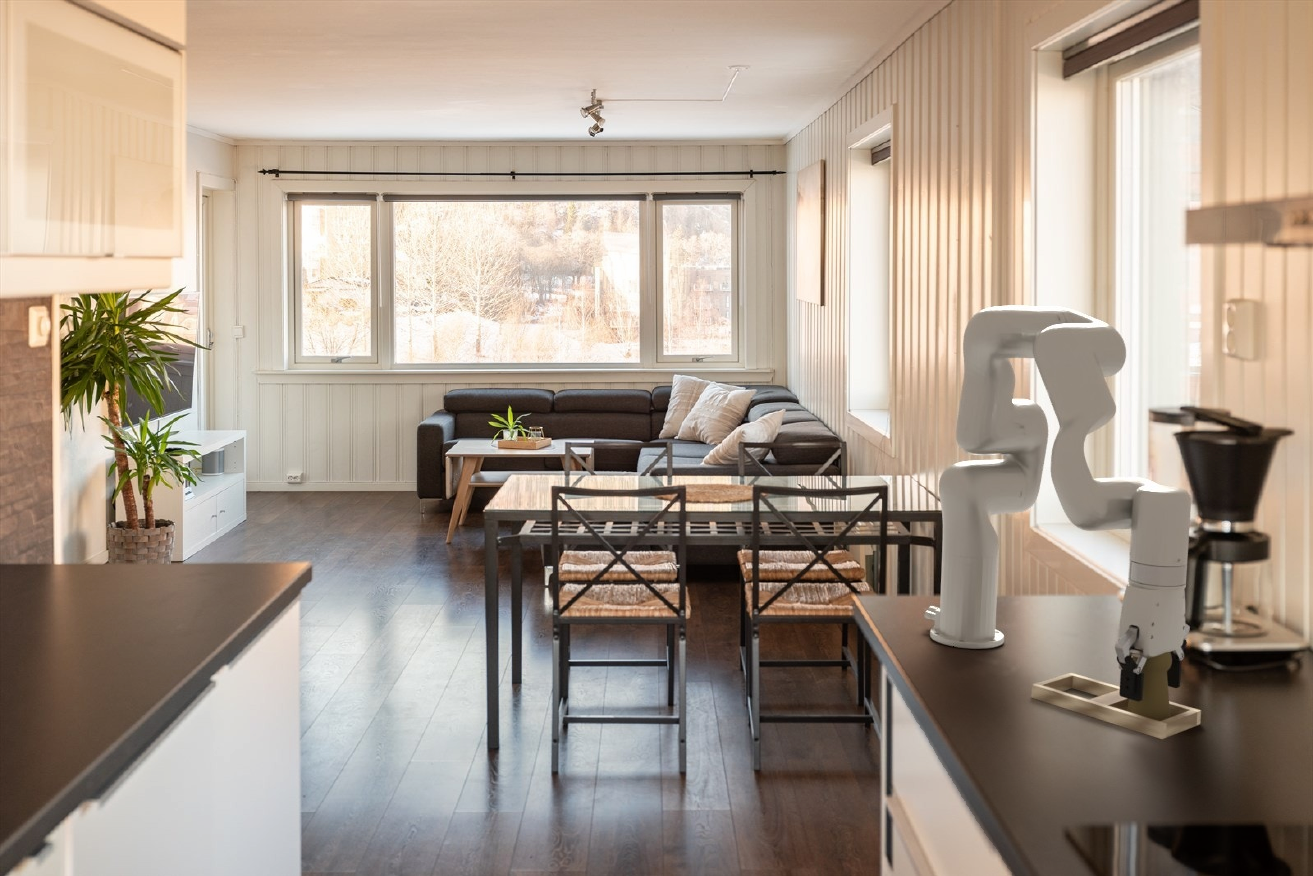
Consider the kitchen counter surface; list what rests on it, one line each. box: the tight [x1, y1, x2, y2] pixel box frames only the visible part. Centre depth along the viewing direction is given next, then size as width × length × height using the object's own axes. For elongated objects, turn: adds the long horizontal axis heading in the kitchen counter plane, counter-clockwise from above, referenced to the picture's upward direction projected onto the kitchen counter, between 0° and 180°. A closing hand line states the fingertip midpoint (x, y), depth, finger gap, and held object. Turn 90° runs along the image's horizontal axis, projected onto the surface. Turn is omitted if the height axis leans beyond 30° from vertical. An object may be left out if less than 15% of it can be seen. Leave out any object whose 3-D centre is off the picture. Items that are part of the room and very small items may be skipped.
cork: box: [1127, 648, 1172, 721], centre depth 171 cm, size 6×6×11 cm
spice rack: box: [1030, 672, 1202, 740], centre depth 175 cm, size 21×10×2 cm, turn 37°
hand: (1149, 692), depth 171 cm, fingers open, 9 cm apart
